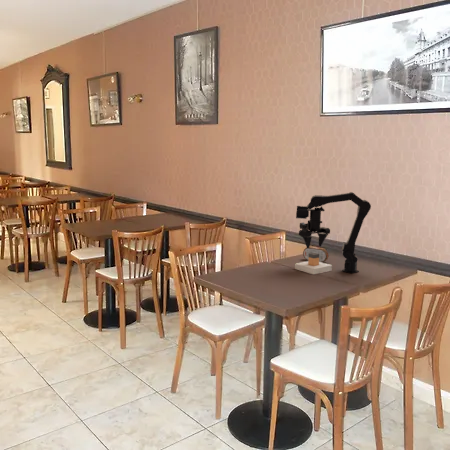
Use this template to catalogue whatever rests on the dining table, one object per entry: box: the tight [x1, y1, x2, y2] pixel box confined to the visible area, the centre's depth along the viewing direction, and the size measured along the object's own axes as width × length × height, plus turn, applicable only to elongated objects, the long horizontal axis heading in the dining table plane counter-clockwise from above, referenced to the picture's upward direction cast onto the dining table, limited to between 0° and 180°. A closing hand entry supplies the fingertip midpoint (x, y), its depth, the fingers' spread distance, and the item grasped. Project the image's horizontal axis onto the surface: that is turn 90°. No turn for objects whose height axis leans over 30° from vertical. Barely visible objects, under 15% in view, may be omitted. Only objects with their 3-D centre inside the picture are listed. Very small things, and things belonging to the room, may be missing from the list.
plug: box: [307, 253, 319, 266], centre depth 261 cm, size 4×4×9 cm
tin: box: [302, 245, 329, 263], centre depth 280 cm, size 15×3×8 cm, turn 58°
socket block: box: [294, 260, 333, 275], centre depth 262 cm, size 14×14×3 cm
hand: (313, 247), depth 260 cm, fingers open, 9 cm apart
